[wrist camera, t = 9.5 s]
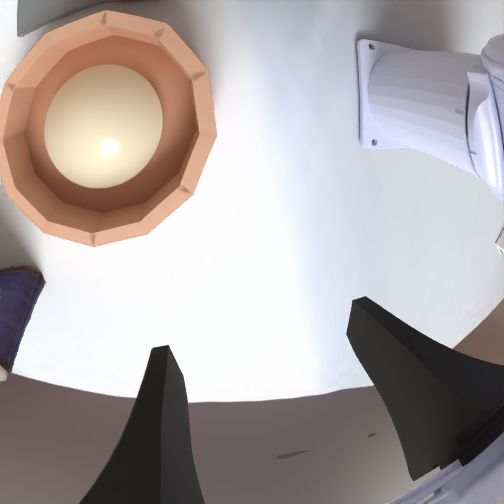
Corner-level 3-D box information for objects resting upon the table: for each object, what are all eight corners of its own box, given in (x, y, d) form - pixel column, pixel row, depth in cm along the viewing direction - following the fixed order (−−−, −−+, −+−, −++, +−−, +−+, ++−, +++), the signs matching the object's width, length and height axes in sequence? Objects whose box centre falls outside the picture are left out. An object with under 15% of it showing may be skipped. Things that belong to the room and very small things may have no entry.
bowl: (195, 9, 12) (200, -10, 9) (219, 194, 18) (228, 217, 15) (11, 69, 10) (-19, 70, 7) (52, 235, 16) (34, 262, 14)
